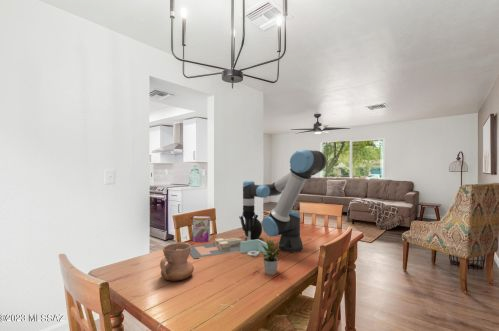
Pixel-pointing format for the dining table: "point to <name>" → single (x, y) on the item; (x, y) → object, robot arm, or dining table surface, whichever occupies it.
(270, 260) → the house plant
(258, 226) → the decorative egg
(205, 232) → the candy bar box
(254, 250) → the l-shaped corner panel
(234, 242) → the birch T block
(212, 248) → the board
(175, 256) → the ceramic jug
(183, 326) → the dining table surface
